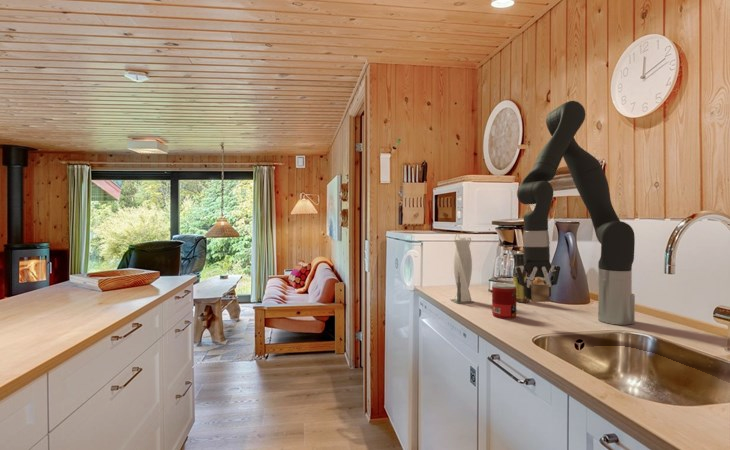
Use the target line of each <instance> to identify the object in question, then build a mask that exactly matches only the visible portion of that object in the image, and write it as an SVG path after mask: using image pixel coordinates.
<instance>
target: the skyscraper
mask: <svg viewBox="0 0 730 450" xmlns="http://www.w3.org/2000/svg"><path fill="white" fill-rule="evenodd" d="M456 238H457V239H456ZM471 241H472V238H471V237H468V238H467V237H460V234H459V233H457V234H455V236H454V244H455V251H454V256H453V257H454V259H453V273H454V281H455V286H456V291H455V295H454V298H452V299H451V298H450V299H449V301H451V302H453V303H455V304H457V305H461V304H465V305H466V304H475V301H473V300H472V297H471V296H472V295H471V292H470V284H471V278H472V273H473V272H472V271H473V259H472V258H473V256H472V253H471V247H470V245H471Z"/></svg>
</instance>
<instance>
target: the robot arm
mask: <svg viewBox="0 0 730 450" xmlns="http://www.w3.org/2000/svg"><path fill="white" fill-rule="evenodd" d="M585 120H586V110H585V107H584V106H583V105H582V104H581V103H580V102H579V101H576V100H569V101H566V102H564V103H562V104H561V105H559V106H557V108H555V109H553V110H552V111H551V112H549V113H548V114H547V115H546V118H545V123H546V128H547V130H548V132H549V133H550V136H551V137H550V138H549V140H548V141H547V142H546V143H545V145H544V146H543V148H541V150H540V152H539V154H538V155H537V158H536V160H535V162H534V165H533V167H532V169H531V170H530V171H529V172H528V173H527V175H526V176H525V177H524V179H523V180H522V181H521V182H520V183H519V185H518V188H517V191H516V195H517V196H516V197H517V199H518V201H519V203H521V204H522V205H535V206H534V209H533V210H531V211H528V212H526V213H524V215H523V235H522V236H523V237H522V238H523V239H522V241H523V253H524V263H523V266H519V267H514V266H513V268H514V270H515V274H516V278H517V281H518V284H519V285H522V286H524V288H525V297H527V299H531V288H530V286H531V283H533V281H534V279H535V278H541V280H542V283H544V284H546V285H549V298H551V296H552V287H553V286H555V285H558V281H559V276H560V272H561V266H559V265H556V264H555V265H552V263H551V262H550V261H551V255H550V248H551V247H550V245H551V242H550V234H549V214H550V210H551V206H552V202H553V199H554V188H553V186H552V184H551V183H550V182H551V181H552V180H553V179H554V178H555V176H556V174H557V171H558V169H559V166H560V164H561V161H562V160H563V159H564V162H565V164H566V166H567V169H568V171H569V174H570V177H571V179H572V182H573V183H574V186H575V188H576V190H577V192H578V194H579V196H580V198H581V200H582V202H583V204H584V205H585V207H586V209H587V211H588V213H589V216H590V219H591V222H592V225H593V230H594V233H595V235H596V238H597V241H598V242H599V243H600V245H601V247H600V257H599V260H598V264H597V266H598V270H597V271H598V274H597V275H598V278H597V279H598V281H597V284H598V286H597V288H598V289H597V290H598V291H597V294H598V296H597V301H598V302H597V303H598V304H597V305H598V307H597V309H598V310H597V315H598V316H597V317H598V319H597V320H598V321H600V322H602V323H606V324H612V325H620V326H625V325H631V324H635V321H636V319H635V312H636V311H635V310H636V308H635V303H636V301H635V299H636V298H635V297H636V296H635V294H634V293H632V291H633V289H632V287H633V285H632V284H633V283H632V282H633V281H632V280H633V279H632V274H633V272H632V271H633V268H632V267H633V263H634V261H635V243H636V242H635V241H636V240H635V239H636V238H635V232H634V229H633V227H632V226H631V225H630V224H628V223H627V222H625V221H621V220H620V218H619V216H618V214H617V212H616V211H615V209H614V206H613V204H612V201H611V194H610V188H609V187H610V186H609V182H608V178H607V176H606V174H605V172H604V169H603V167H602V164H601V162H600V161H599V160H598V159H597V158H596V156H593V155H592V154H591V153H590V152H588V151H586V150H585V149H584V148H582V147H581V146H580V145H579V144H578V142H577V141H576V138H575V135H577V133H578V132H579V129H581V127H582V125H583V123H584V122H585ZM523 269H524V270H525V271H526V272H527V274H526V277H525V282H524V279H523V276H522V273H523ZM549 271H551V274H550V276H549V274H548V272H549Z"/></svg>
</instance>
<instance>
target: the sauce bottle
mask: <svg viewBox="0 0 730 450" xmlns="http://www.w3.org/2000/svg"><path fill="white" fill-rule="evenodd" d="M514 258H515V264H514V266H513V268H512V282H513V283H512V284H513V285H516V303H525V304H526V303H529V302H531V301H530V300H528V299H527V297H525V288H524V286H522V285H519V284H518V281H517V278H516V274H515V270H514V267H519V266H523V263H524V252H515V253H514ZM526 274H527V272H526V271H525V270H524V269H523V273H522V276H523V279H524V282H525V277H526Z"/></svg>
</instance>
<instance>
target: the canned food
mask: <svg viewBox="0 0 730 450" xmlns="http://www.w3.org/2000/svg"><path fill="white" fill-rule="evenodd" d="M491 298H492V299H491V302H492V303H491V306H492V307H491V310H492V311H491V312H492V316H493V317H495V318H497V319H502V318H503V319H504V320H509V319H511V320H512V319H515V318H516V317H517V302H516V285H513V283H503V282H497V283H493V284H492V286H491Z"/></svg>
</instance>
